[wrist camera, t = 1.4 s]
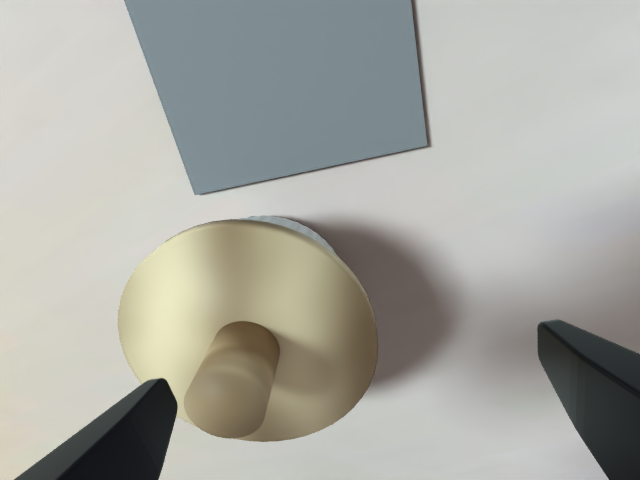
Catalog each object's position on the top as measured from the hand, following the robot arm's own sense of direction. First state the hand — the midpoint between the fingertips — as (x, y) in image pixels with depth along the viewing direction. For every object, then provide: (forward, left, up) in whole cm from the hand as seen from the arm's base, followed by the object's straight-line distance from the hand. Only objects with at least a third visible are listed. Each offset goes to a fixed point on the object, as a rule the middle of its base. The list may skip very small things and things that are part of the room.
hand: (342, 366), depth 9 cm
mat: (+2, -9, -13) cm, 16 cm away
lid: (+6, +4, -8) cm, 11 cm away
